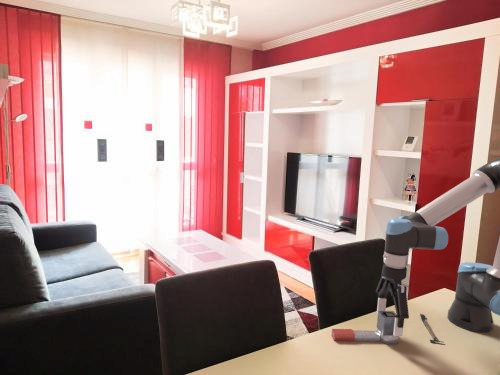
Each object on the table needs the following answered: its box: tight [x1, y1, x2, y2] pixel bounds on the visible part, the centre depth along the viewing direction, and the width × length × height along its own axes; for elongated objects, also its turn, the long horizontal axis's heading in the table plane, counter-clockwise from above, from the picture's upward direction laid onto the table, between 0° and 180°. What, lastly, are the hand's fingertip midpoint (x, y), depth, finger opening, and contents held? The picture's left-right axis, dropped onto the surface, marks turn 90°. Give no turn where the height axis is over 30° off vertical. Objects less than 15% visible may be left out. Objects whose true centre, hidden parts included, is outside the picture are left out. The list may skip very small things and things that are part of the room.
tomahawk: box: [419, 313, 446, 346], centre depth 136 cm, size 21×7×1 cm, turn 167°
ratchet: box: [330, 313, 400, 345], centre depth 127 cm, size 22×7×9 cm, turn 93°
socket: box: [376, 310, 397, 335], centre depth 127 cm, size 5×5×6 cm
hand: (388, 325), depth 127 cm, fingers open, 13 cm apart
